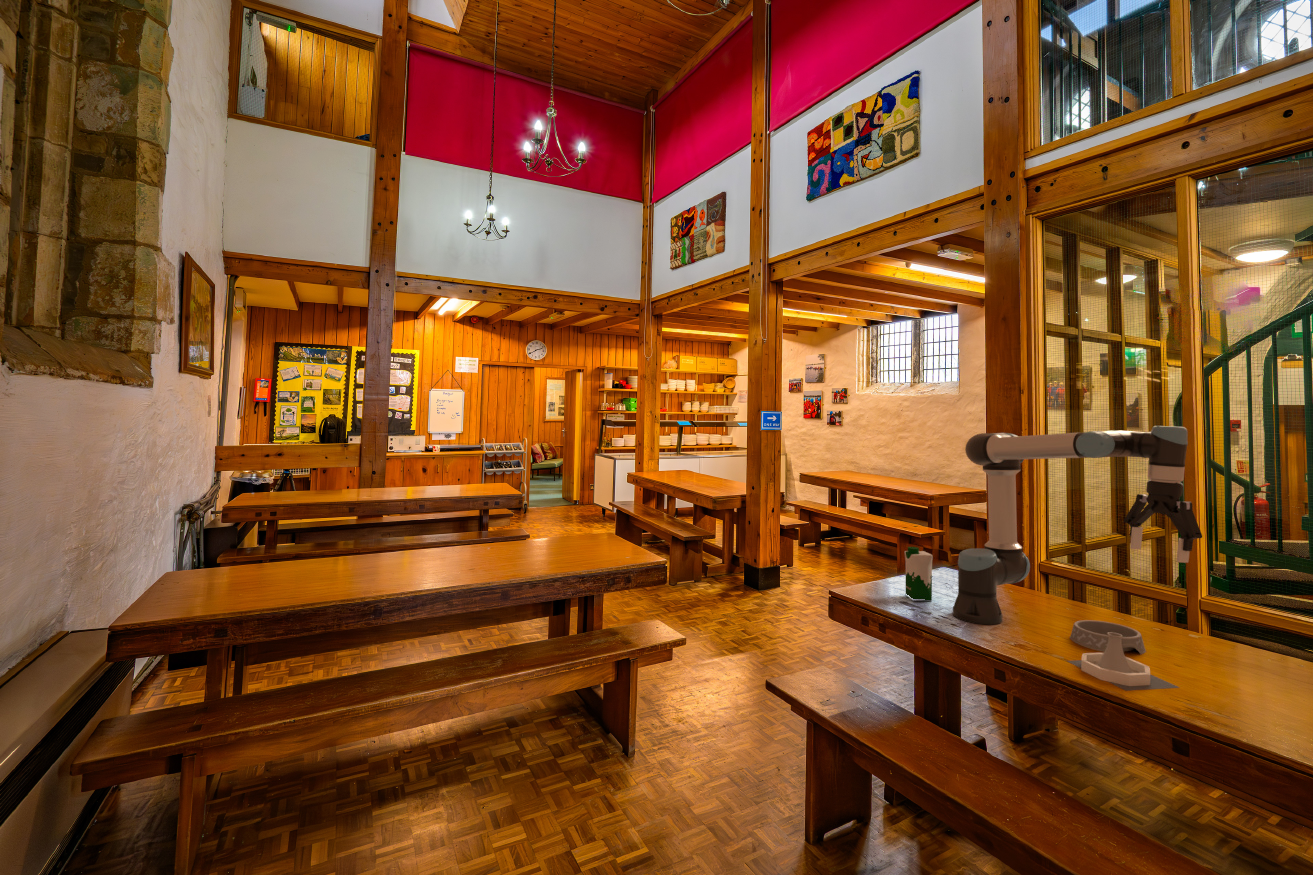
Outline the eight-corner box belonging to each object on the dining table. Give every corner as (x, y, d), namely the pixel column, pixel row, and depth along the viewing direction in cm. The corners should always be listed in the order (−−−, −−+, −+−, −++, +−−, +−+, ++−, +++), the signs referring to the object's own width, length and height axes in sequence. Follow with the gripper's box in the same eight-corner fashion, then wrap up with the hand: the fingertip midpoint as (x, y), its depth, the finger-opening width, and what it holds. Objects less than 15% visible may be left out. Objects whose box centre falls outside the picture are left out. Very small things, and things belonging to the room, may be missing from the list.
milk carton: (902, 595, 222) (902, 545, 222) (925, 595, 222) (925, 545, 222) (912, 602, 213) (912, 550, 213) (935, 602, 213) (935, 550, 213)
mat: (1066, 662, 157) (1066, 660, 157) (1115, 659, 159) (1115, 658, 159) (1125, 691, 139) (1125, 690, 139) (1179, 688, 141) (1179, 687, 141)
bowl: (1068, 663, 155) (1068, 653, 155) (1115, 661, 157) (1115, 651, 157) (1114, 686, 141) (1114, 675, 141) (1164, 684, 143) (1164, 673, 143)
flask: (1139, 678, 145) (1139, 640, 145) (1106, 675, 146) (1107, 638, 146) (1122, 666, 152) (1122, 630, 152) (1091, 664, 153) (1092, 628, 153)
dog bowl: (1056, 635, 179) (1056, 618, 179) (1115, 635, 179) (1115, 618, 178) (1097, 656, 162) (1097, 638, 162) (1161, 657, 161) (1161, 638, 161)
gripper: (1225, 488, 144) (1217, 568, 145) (1135, 475, 169) (1129, 544, 170) (1199, 487, 144) (1191, 567, 145) (1112, 474, 168) (1106, 543, 170)
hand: (1157, 555), depth 158 cm, fingers open, 13 cm apart
